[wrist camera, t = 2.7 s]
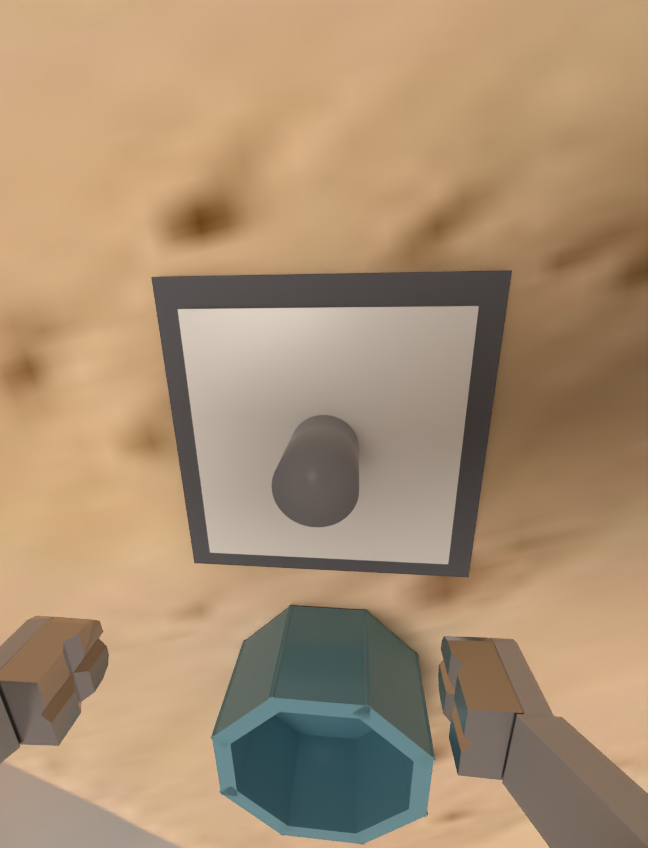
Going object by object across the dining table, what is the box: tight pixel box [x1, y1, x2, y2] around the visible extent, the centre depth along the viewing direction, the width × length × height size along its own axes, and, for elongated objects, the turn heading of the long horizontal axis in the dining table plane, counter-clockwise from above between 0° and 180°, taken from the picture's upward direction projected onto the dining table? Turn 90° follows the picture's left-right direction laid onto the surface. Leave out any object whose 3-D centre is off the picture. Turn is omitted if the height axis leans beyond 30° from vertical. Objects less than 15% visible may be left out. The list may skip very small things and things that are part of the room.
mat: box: [152, 271, 512, 577], centre depth 20 cm, size 17×17×1 cm
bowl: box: [211, 605, 435, 845], centre depth 23 cm, size 12×12×6 cm
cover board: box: [178, 306, 479, 564], centre depth 17 cm, size 14×14×5 cm
